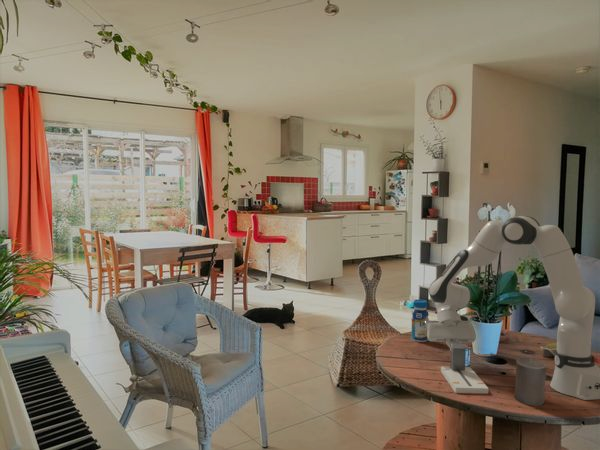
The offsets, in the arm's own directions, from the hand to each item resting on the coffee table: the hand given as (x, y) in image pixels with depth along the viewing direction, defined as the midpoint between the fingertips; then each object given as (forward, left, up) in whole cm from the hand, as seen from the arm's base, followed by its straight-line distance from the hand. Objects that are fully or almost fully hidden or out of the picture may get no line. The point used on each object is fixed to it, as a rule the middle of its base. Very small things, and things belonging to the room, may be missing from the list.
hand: (454, 350), depth 195 cm
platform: (-49, -18, -9) cm, 53 cm away
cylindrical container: (-19, -20, -8) cm, 29 cm away
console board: (0, +13, -8) cm, 15 cm away
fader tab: (0, +6, -6) cm, 8 cm away
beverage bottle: (+6, -39, -8) cm, 40 cm away
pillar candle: (-19, +28, -8) cm, 35 cm away
